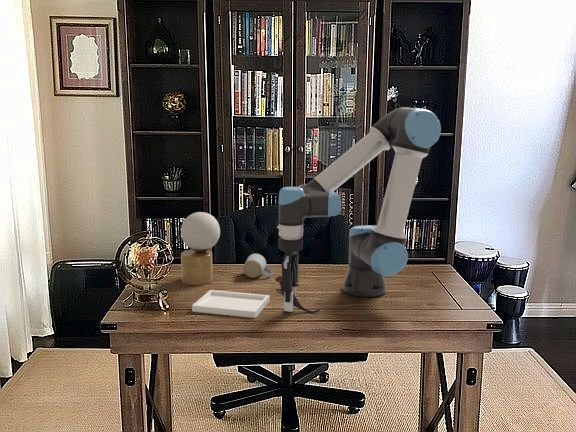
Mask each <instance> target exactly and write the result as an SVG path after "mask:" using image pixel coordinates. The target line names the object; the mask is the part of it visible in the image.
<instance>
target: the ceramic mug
mask: <svg viewBox="0 0 576 432" xmlns="http://www.w3.org/2000/svg"><path fill="white" fill-rule="evenodd" d="M243 272H244V274H245V276H247V277H248V278H251V279H257V278H258V277H260V276H261V277H264V278H271V277H272V275H273V273H274V272H273V270H272V269H270V268H269V267H267V260H266V258H265V257H264V256H263V255H261V254H260V253H251V254H250V255H249V256H248V257H247V259H246V261H245V263H244V265H243Z"/></svg>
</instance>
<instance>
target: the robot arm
mask: <svg viewBox="0 0 576 432" xmlns="http://www.w3.org/2000/svg"><path fill="white" fill-rule="evenodd" d="M441 126H442V125H441V122H440V120H439V118H438V116H437V115H436V114H435V113H434V112H432V111H431V110H428V109H424V108H419V107H417V108H416V107H407V106H406V107H405V106H402V107H398V108H395V109H393V110H392V111H390V112H388V113H387V114H386V115H384V116H383V117H382V118H380V119H379V120H378V121H377V122H376V123H374V124H373V125H372V126H371V127H369V132H368V133H367V134H366V135H364V137H362V138H361V139H360V140H359V141H357V142H356V143H355V144H354V145H352V146H350V148H349V149H348V150H347V151H345V152H344V153H343V154H342V155H340V156H339V157H338V158H337V159H336V160H335V161H333V162H332V163H331V164H330V165H328V166H327V167H325V169H324V170H322V171H321V172H320V173H318V175H316V176H314V178H313V179H311V180H310V181H309V182H308V183H305V184H304V183H303V184H300V185H298V186H285V187H282V188H281V189H280V190H279V193H278V225H277V227H276V228H277V229H278V236H279V237H278V249H279V250H280V251H282V252H284V255H283V256H282V262H281V264H280V265H281V276H282V290H281V291H282V292H284V297H283V309H284V311H289V312H291V313H292V312H293V311H294V308H297V307H296V306H294V305H293V293H294V294H295V296H296V297H297V288H298V287H299V286H300V284H299V283H298V282H299V258H300V252H299V251H302V250H303V247H304V246H303V244H304V243H303V242H304V240H303V239H304V238H303V236H304V218H323V217H325V218H326V217H327V218H330V217H336V216H338V215H339V214H340V213H341V211H342V199H341V196H340V194H339V193H338V192H335V191H336V190H337V189H338V188H339V187H340V186H342V185H344V183H346V182H347V181H348V180H349V179H350V178H352V177H353V176H354V175H355V174H357V172H359V171H360V170H362V169H363V168H364V167H365V166H367V164H369V163H370V162H371V161H372V160H374V159H375V158H376V157H377V156H378V155H379V154H382V152H383V151H389V150H390V149H391V148H393V150H394V152H395V154H394V158H393V161H392V165H391V166H392V167H391V170H390V174H389V177H388V182H387V184H386V185H387V186H386V190H385V193H384V198H383V203H382V205H381V211H380V213H379V218H378V221H377V225H366V224H365V225H356V226H353V227H351V228H350V229H349V236H348V241H349V242H348V269H347V271H346V274H345V277H344V280H343V282H342V290H343V292H345V293H346V294H348V295H351V296H355V297H364V298H365V297H367V298H368V297H371V298H372V297H378V296H383V295H384V294H386V293H387V283H386V279H385V277H391V276H396V275H397V274H398V273H399V272H401V271H403V270H404V268H405V267H406V266H407V263H408V259H409V253H408V251H407V248H406V246H405V245H406V241H407V238H408V236H407V235H406V234H405V232H404V231H405V226H406V223H407V218H408V215H409V210H410V207H411V203H412V199H413V195H414V191H415V188H416V183H417V179H418V176H419V173H420V169H421V165H422V161H423V159H424V158H426V157H427V156H428V155H429V154H430V153H429V152H430V150H431V147H432V146H434V145H435V144H436V143H437V142H438V141H439V139H440V137H441V131H442V127H441ZM281 291H280V292H281ZM284 311H283V312H284Z"/></svg>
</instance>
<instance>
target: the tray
mask: <svg viewBox="0 0 576 432" xmlns="http://www.w3.org/2000/svg"><path fill="white" fill-rule="evenodd" d="M270 296H271V295H269V294H259V293H249V292H248V293H247V292H235V291H227V290H217V289H210V290H208V291H207V292H206V293H205V294H203V296H201V297H200V298H199V299H198V300H197V301H195V302H194V303H192V305H191V312H193V313H202V314H203V313H205V314H213V315H222V316H223V315H224V316H230V317H231V316H232V317H242V318H253V319H256V318H257V317H258V315H259V314H260V313H261V312H262V311H263V310H264V308H266V306H267V305H268V304H269V302H270Z"/></svg>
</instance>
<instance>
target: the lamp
mask: <svg viewBox="0 0 576 432" xmlns="http://www.w3.org/2000/svg"><path fill="white" fill-rule="evenodd" d="M220 227H221V226H220V224H219V221H218V220H217V219H216V218H215V216H213V215H212V214H210V213H208V212H202V211H197V212H193V213H191V214H190V215H188V216H187V217H186V218H185V219H184V220H183V222H182V224H181V227H180V237H181V239H182V241H183V243H184V245H186V246H187V247H188V248H189V249H187V250H184V251H182V252H181V253H180V263H181V265H180V268H181V269H180V271H181V282H182V283H183V284H184V285H187V286H203V285H208V284H210V283H212V282H213V275H214V273H213V270H214V269H213V252H212V251H211V249H212V248H213V247H214V246H215V245H216V244H217V243H218V242H219V239H220V236H221V228H220Z"/></svg>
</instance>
